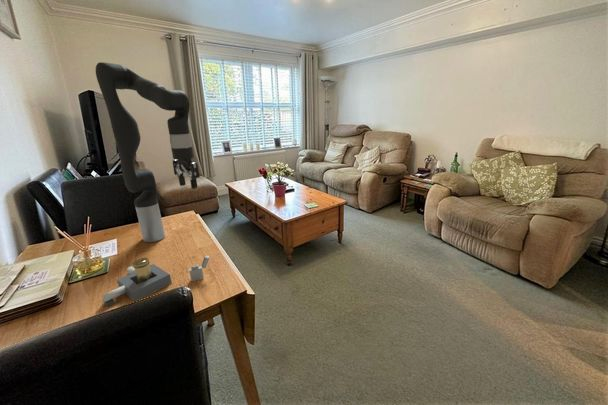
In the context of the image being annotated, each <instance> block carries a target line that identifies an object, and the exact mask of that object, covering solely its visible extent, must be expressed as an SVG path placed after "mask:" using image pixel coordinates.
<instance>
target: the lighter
mask: <svg viewBox="0 0 608 405" xmlns="http://www.w3.org/2000/svg"><path fill="white" fill-rule="evenodd" d="M209 261H210V256H209V255H204V257H203V260H202V264H201V265H200V266H199V264H194V265H192V266H191V267H190V268H188V270H189V276H190V281H191V282H195V281H198V280H203V279H204V273H203V269H206V268H207V266H208V263H209Z"/></svg>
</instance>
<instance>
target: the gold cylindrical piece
mask: <svg viewBox="0 0 608 405" xmlns="http://www.w3.org/2000/svg"><path fill="white" fill-rule="evenodd" d="M150 265H151V264H150V259H149V258H148V257H141V258H137V259H135V260H134V261H133V262H132V267H134V269H135V273H136V277H137V280H138V284H137V285H139V284H141V283H143V282H145V281H147V280H149V279H151V278H153V277H152V273H151V269H150Z"/></svg>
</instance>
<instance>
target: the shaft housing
mask: <svg viewBox="0 0 608 405" xmlns="http://www.w3.org/2000/svg"><path fill="white" fill-rule="evenodd" d="M149 265H150V269H151V273H152V277H153V278H151V279H149V280H147V281H145V282H143V283H141V284H138V280H137V277H136V273H135V269H134V267H133V265H132V266H129V267H128V268H127V269H126V272H127V274H126V275H124V276H122V277H120V278H117V279H116V281H117V285H118V287H117V288H115V289H113V290H110V291H108V292H106V293H104V294H102V296H101V297H102V299H103V300H102V301H103V304H104V305H105V306H106V307H110V306H112V305H115V304H116V302H115V298H117V297H119V296H121V295H123V294H125V295H126V296H127V297H129V298H130V299H131V300H132V301H134V302H137V301H140V300H141V299H143V298H145V297H147V296H149V295H151V294H153V293H155V292H156V291H159V290H160V289H163V288H164V287H166V286H169V285H170V284H172V279H171V274H170V273H168V272H167V271H165V270H164V269H162V268H161V267H159V266H157V265H156V264H155V263H151V264H149Z"/></svg>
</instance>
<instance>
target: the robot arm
mask: <svg viewBox="0 0 608 405" xmlns="http://www.w3.org/2000/svg"><path fill="white" fill-rule="evenodd" d="M95 76H96V80H97V83H98V86H99V89H100V92H101V94H102V97H103V100H104V102H105V106H106V109H107V112H108V113H107V114H108V116H109V120H110V124H111V128H112V130H111V131H112V134H113V137H114V140H115V143H116V147H117V152H118V155H119V158H120V159H119V160H120V166H121V171H122V177H123V182H124V185H125V187H126V189H127V190H128V192H130V193H138V192H142V193H140V195H139V196H138V197H136V198H135V199H134V200H133V204H134V207H135V210H136V211H135V212H136V216H137V219H138V224H139V228H140V232H141V236H142V240H143V242H145V243H154V242H155V243H156V242H159V241H160V240H162V239H163V240H164V238H165V237H166V234H165V228H164V224H163V221H162V215H161V210H160V206H159V202H158V189H157V184H156V179H155V175H154V173H153V171H152V170H150V169H149V168H141V169H135V157H136V154H137V151H138V149H139V147H140V144H141V133H140V128H139V125H138V122H137V121H136V119H135V118H134V116H133V115H132V114H131V113H130V112H129V111H128V110H127V109H126V107H125V106H124V105H123V103H122V102H121V100H120V98H119V95H118V92H117V90H131V91H136V93H137V94H138V95H139V96H140V97H142V98H143V99H145V100H147V101H150V102H152V103H154V104H155V105H157V107H158V108H160V109H162V110H165V111H169V112H171V111H174V116H172V117H169V118H168V119H167V120H166V121H167V129H168V134H169V144H170V149H171V155H172V168H173V173H174V176H175V175H176V177H178V183H179V186H180V187H184V186H186V184H187V183H186V179H185V174H186V176H188V178H189V179H190V180H189V181H190V188H191V189H193V190H194V189H197V188H198V182H197V179H198V178H200V171H199V166H198V162H195V161H194V162H193V161H192V160H193V158H194V157H195V156H194V149H193V144H192V143H193V142H192V137H191V133H190V129H189V127H190V126H189V117H190V116H189V115H190V99H189V96H188V95H187V93H186V92H185V91H183V90H180V89H179V90H177V89H167V88H166V87H165V86H163V85H162V84H160V83H157V82H155V81H152V80H149V79H147V78H145V77H142V76H140V74H137V73H136V72H135V71H132V70H131V69H129V68H128V67H127V66H124V65H122V64H116V63H109V62H103V61H101V62H97V63H96V66H95Z"/></svg>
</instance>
